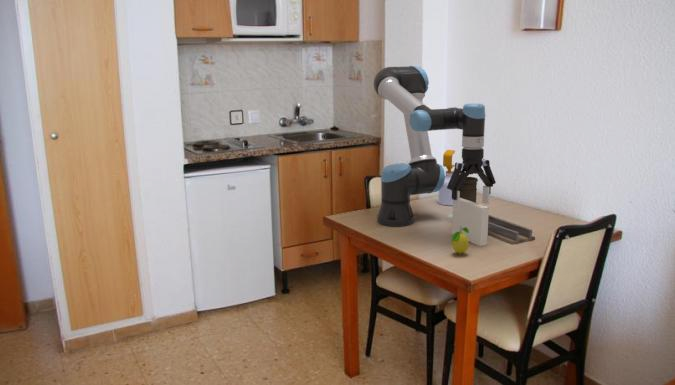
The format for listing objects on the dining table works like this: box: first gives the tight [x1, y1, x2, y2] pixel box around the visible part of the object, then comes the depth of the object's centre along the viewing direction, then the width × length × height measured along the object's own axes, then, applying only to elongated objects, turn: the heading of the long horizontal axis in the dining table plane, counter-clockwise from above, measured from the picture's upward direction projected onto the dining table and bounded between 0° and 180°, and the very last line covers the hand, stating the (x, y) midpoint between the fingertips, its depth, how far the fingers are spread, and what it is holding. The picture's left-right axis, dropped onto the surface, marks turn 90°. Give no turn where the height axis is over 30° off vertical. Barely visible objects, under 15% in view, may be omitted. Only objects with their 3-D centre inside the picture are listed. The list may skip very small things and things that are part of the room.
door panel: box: [451, 198, 490, 247], centre depth 204 cm, size 4×16×14 cm, turn 27°
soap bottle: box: [437, 149, 456, 207], centre depth 254 cm, size 9×9×25 cm
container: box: [458, 176, 479, 203], centre depth 226 cm, size 9×9×18 cm
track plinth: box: [488, 214, 536, 245], centre depth 211 cm, size 11×24×4 cm, turn 27°
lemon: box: [451, 227, 470, 255], centre depth 189 cm, size 7×6×10 cm
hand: (471, 206), depth 202 cm, fingers open, 13 cm apart
